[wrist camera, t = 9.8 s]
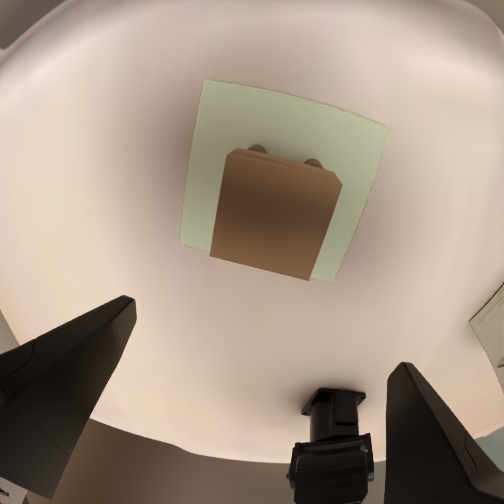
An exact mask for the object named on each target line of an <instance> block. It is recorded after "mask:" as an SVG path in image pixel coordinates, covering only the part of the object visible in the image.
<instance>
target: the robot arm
mask: <svg viewBox="0 0 504 504" xmlns="http://www.w3.org/2000/svg"><path fill="white" fill-rule="evenodd" d="M136 320H137V314H136V302H135V299H133V298H131V297H128V296H126V295H122V296H120V297H118V298H116V299H114V300H111V301H109V302H107V303H105V304H103V305H101V306H99V307H97V308H95V309H93V310H91V311H89V312H87V313H85V314H83V315H81V316H79V317H77V318H75V319H73V320H71V321H69V322H67V323H65V324H63V325H61V326H59V327H57V328H55V329H53V330H51V331H49V332H47V333H45V334H43V335H41V336H39V337H37V338H36V339H33V340H31V341H29V342H27V343H25V344H23V345H20V346H18V347H17V348H14V349H12V350H10V351H7V352H5V353H2V354H0V504H29V502H28V500H27V498H26V493H27V491H31V492H33V493H35V494H38V495H40V496H43V497H45V498H48V499H50V500H51V499H52V498H53V496H54V494H55V491H56V489H57V486H58V484H59V482H60V479H61V477H62V474H63V472H64V470H65V468H66V466H67V463H68V461H69V459H70V456H71V454H72V452H73V450H74V448H75V446H76V444H77V441H78V439H79V437H80V435H81V433H82V431H83V429H84V427H85V425H86V423H87V421H88V419H89V417H90V415H91V413H92V411H93V409H94V407H95V405H96V403H97V402H98V400H99V398H100V396H101V394H102V392H103V390H104V388H105V386H106V385H107V383H108V381H109V379H110V377H111V375H112V374H113V372H114V370H115V368H116V366H117V365H118V363H119V361H120V358H121V356H122V354H123V351H124V349H125V347H126V344H127V342H128V340H129V337H130V335H131V333H132V330H133V328H134V326H135V323H136ZM365 398H366V394H365V393H356V392H346V391H338V390H330V389H319V390H318V391H317V392H316V393H315V394H314V396H313V397H312V398H311V400H310V401H309V402H308V403H307V405H306V406H305V407H304V408H303V410H302V411H301V414H302V415H306V416H310V442H306V443H300V442H297V443H295V447H294V448H293V451H292V458H291V463H290V466H289V469H288V472H287V475H286V478H287V479H288V480H289V481H290V485H291V489H292V490H294V501H295V503H296V504H362V503H363V501H364V499H365V498H366V495H367V493H368V482H373V481H374V461H373V452H372V444H371V436H370V433H366V434H365V435H359V427H358V422H359V421H358V410H357V406H358V405H359V404H360V403H361V402H362V401H363V400H364V399H365ZM364 450H365V451H364ZM384 504H504V472H502V471H501V470H500V469H499V468H498V467H497V466H496V465H495V464H494V462H493V461H492V460H491V459H490V458H489V457H488V456H487V455H486V453H485V452H484V451H483V450H482V449H481V448H480V446H479V445H478V444H477V443H476V442H475V440H474V439H473V438H472V437H471V435H470V434H469V433H468V431H467V430H465V427H464V426H463V425H462V424H461V422H460V421H459V420H458V418H457V417H456V416H455V415H454V413H453V412H452V411H451V410H450V408H449V407H448V406H447V405H446V403H445V402H444V401H443V400H442V398H441V397H440V396H439V395H438V394H437V392H436V391H435V390H434V389H433V387H432V386H431V385H430V384H429V383H428V381H427V380H426V379H425V378H424V377H423V376H422V374H421V373H420V372H419V371H418V370H417V368H416V367H415V366H414V365H413V364H412V363H410V362H401V363H400V364H399V365H398V366H397V367H396V368H395V369H394V371H393V372H392V373H391V374H390V375H389V377H388V381H387V404H386V478H385V494H384Z"/></svg>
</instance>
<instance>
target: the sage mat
mask: <svg viewBox="0 0 504 504" xmlns="http://www.w3.org/2000/svg"><path fill="white" fill-rule="evenodd" d="M389 130H390V128H388V127H386V126H384V125H381V124H379V123H376V122H374V121H371V120H368V119H366V118H363V117H360V116H358V115H355V114H352V113H349V112H346V111H343V110H340V109H337V108H334V107H331V106H328V105H325V104H321V103H318V102H314V101H311V100H307V99H304V98H300V97H296V96H292V95H288V94H284V93H279V92H275V91H270V90H266V89H261V88H256V87H250V86H245V85H239V84H233V83H226V82H219V81H211V80H204V82H203V86H202V91H201V96H200V101H199V106H198V111H197V116H196V122H195V127H194V133H193V139H192V145H191V151H190V158H189V164H188V171H187V178H186V186H185V193H184V202H183V210H182V219H181V229H180V239H179V244H181V245H185V246H189V247H193V248H197V249H200V250H204V251H208V252H210V250H211V243H212V237H213V230H214V224H215V218H216V212H217V206H218V200H219V194H220V188H221V183H222V177H223V172H224V166H225V161H226V156H227V154H229V153H230V152H232V151H233V150H235V149H236V148H242V149H248V148H249V147H251V146H252V145H261V146H262V147H264V149H265V150H266V154H269V155H273V156H277V157H281V158H285V159H289V160H293V161H297V162H300V163H305V162H306V161H307V160H308V159H316V160H318V161H319V162H320V163H321V165H322V167H323V168H324V169H325V170H328V171H332V172H334V173H335V174H336V176H337V177H338V178H339V180H340V181H341V183H342V184H343V185H342V189H341V192H340V195H339V198H338V201H337V204H336V207H335V210H334V213H333V216H332V219H331V221H330V224H329V227H328V230H327V233H326V236H325V238H324V241H323V244H322V247H321V249H320V252H319V255H318V257H317V260H316V263H315V265H314V268H313V271H312V273H311V276H310V278H313V279H317V280H321V281H325V282H329V283H333V282H334V279H335V277H336V275H337V273H338V270H339V268H340V266H341V263H342V261H343V259H344V256H345V254H346V252H347V249H348V247H349V244H350V242H351V239H352V237H353V234H354V232H355V229H356V227H357V224H358V222H359V219H360V217H361V214H362V211H363V209H364V206H365V203H366V200H367V198H368V195H369V192H370V189H371V186H372V184H373V181H374V178H375V175H376V172H377V169H378V166H379V163H380V159H381V156H382V153H383V150H384V147H385V143H386V140H387V137H388V133H389Z"/></svg>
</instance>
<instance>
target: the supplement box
mask: <svg viewBox="0 0 504 504" xmlns="http://www.w3.org/2000/svg"><path fill="white" fill-rule="evenodd" d="M470 324H471V326H472V328H473V330H474V332H475V334H476V335H477V337H478V339H479V341H480V343H481V344H482V346H483V348H484V350H485V352H486V354H487V356H488V358H489V360H490V362H491V364H492V366H493V369H494V371H495V373H496V375H497V378H498V380H499V383H500V385H501V388H502V390H503V393H504V285H503V286H502V288H501V289H500V290H499V291H498V292H497V293H496V295H495V296H494V297H493V298H492V299H491V300H490V301H489V302H488V304H487V305H486V306H485V307H484V308H483V309H482V310H481V311H480V312H479V313H478V314H477V315H476V316H475V317H474V318H473V319H471V321H470Z"/></svg>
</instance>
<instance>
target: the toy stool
mask: <svg viewBox="0 0 504 504" xmlns="http://www.w3.org/2000/svg"><path fill="white" fill-rule="evenodd" d="M342 185H343V184H342V183H341V181H340V180H339V178H338V177H337V176H336V174H335V173H334V172H332V171H328V170H325V169H324V168H323V167H322V165H321V163H320V162H319V161H318V160H316V159H308V160H307V161H306V162H305V163H300V162H297V161H293V160H289V159H285V158H281V157H277V156H273V155H269V154H266V150H265V149H264V147H262V146H261V145H252V146H251V147H249V148H248V149H242V148H236V149H235V150H233V151H232V152H230V153H229V154H227V156H226V161H225V166H224V172H223V177H222V183H221V188H220V194H219V200H218V206H217V212H216V218H215V224H214V230H213V237H212V243H211V250H210V256H212V257H216V258H220V259H223V260H227V261H231V262H235V263H239V264H243V265H247V266H251V267H255V268H259V269H263V270H267V271H271V272H275V273H279V274H283V275H287V276H291V277H295V278H299V279H304V280H308V281H309V278H310V276H311V273H312V271H313V268H314V265H315V263H316V260H317V257H318V255H319V252H320V249H321V247H322V244H323V241H324V238H325V236H326V233H327V230H328V227H329V224H330V221H331V219H332V216H333V213H334V210H335V207H336V204H337V201H338V198H339V195H340V192H341V189H342Z"/></svg>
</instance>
